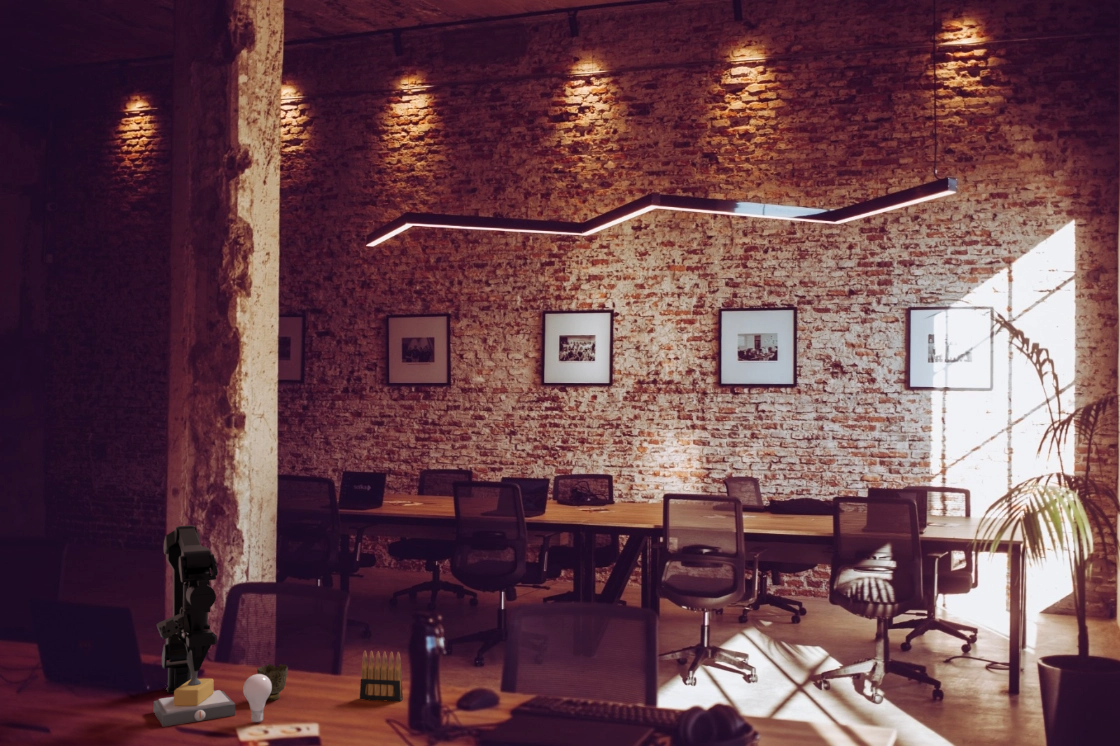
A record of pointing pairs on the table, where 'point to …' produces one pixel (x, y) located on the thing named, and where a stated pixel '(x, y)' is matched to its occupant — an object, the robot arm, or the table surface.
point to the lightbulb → (257, 695)
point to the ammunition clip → (381, 678)
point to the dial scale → (194, 709)
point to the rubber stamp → (193, 688)
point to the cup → (275, 678)
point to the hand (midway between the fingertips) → (194, 669)
